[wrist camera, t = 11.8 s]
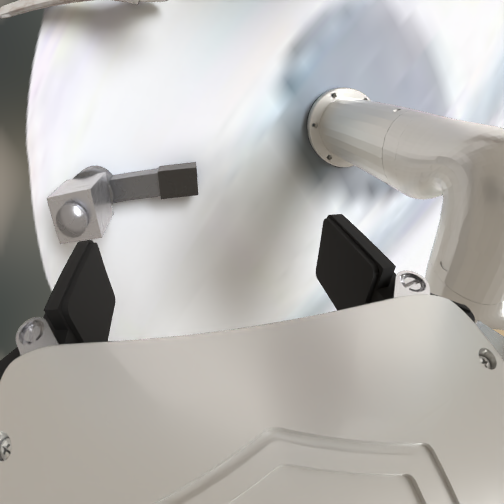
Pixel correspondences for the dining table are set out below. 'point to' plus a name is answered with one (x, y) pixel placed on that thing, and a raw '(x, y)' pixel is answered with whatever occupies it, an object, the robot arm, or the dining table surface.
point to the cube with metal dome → (81, 208)
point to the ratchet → (150, 182)
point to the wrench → (45, 5)
